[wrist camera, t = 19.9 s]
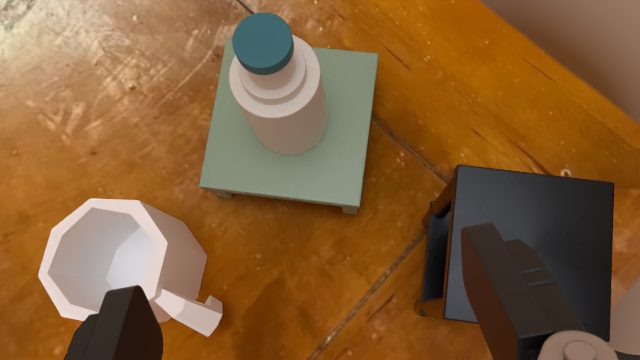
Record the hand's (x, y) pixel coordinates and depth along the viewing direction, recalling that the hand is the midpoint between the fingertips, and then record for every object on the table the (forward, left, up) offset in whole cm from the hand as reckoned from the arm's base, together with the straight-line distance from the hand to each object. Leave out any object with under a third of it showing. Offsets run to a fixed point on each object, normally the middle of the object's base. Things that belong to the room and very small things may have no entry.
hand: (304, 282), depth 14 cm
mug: (+13, 0, -31) cm, 34 cm away
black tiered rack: (-10, -4, -31) cm, 33 cm away
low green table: (+5, -13, -31) cm, 34 cm away
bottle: (+5, -13, -26) cm, 29 cm away
